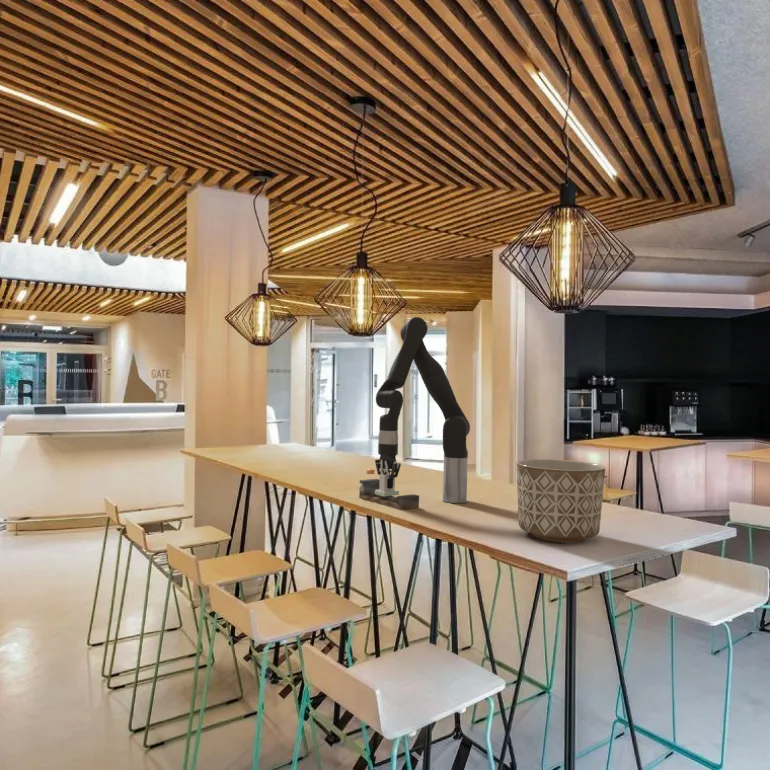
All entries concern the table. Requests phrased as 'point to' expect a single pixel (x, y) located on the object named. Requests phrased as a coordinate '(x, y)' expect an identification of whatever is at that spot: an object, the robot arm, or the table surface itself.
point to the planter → (560, 498)
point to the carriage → (383, 487)
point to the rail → (398, 502)
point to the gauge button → (370, 471)
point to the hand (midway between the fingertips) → (387, 487)
